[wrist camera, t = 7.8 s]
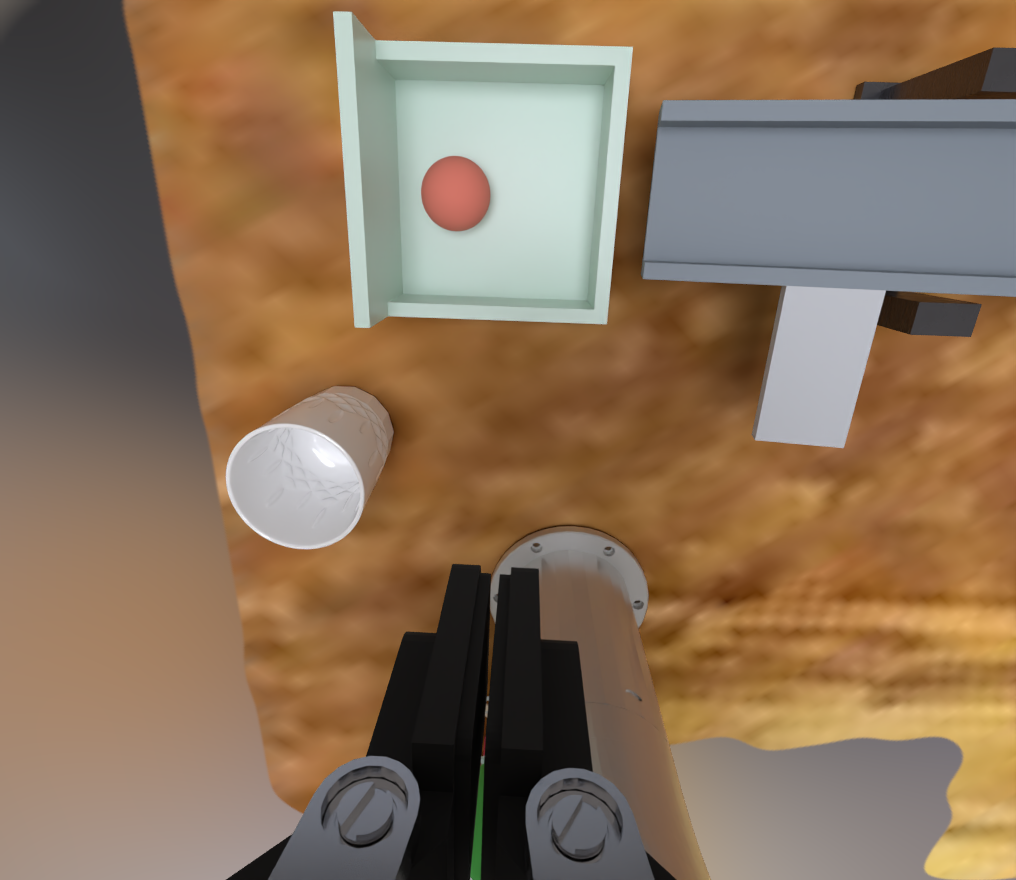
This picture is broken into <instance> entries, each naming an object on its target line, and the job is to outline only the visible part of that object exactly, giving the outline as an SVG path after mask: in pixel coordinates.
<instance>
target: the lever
mask: <svg viewBox="0 0 1016 880" xmlns="http://www.w3.org/2000/svg"><path fill="white" fill-rule="evenodd" d="M641 276H642V278H643V279H652V280H674V281H695V282H716V283H737V284H758V285H779V286H782V288H781V293H780V298H779V303H778V308H777V312H776V317H775V322H774V327H773V332H772V337H771V342H770V347H769V352H768V357H767V362H766V367H765V372H764V377H763V382H762V387H761V392H760V397H759V402H758V407H757V412H756V417H755V422H754V426H753V431H752V436H753V438H754V439H755V440H760V441H771V442H782V443H793V444H804V445H816V446H827V447H838V448H844V445H845V442H846V438H847V434H848V430H849V427H850V423H851V419H852V415H853V412H854V408H855V404H856V400H857V397H858V393H859V389H860V386H861V382H862V378H863V374H864V371H865V367H866V363H867V359H868V356H869V352H870V348H871V344H872V341H873V337H874V333H875V330H876V326H877V322H878V318H879V315H880V311H881V307H882V303H883V300H884V296H885V292H886V291H906V292H927V293H949V294H970V295H991V296H1012V297H1016V99H957V100H663V103H662V106H661V109H660V111H659V119H658V128H657V137H656V146H655V154H654V163H653V172H652V181H651V190H650V199H649V208H648V217H647V226H646V234H645V243H644V252H643V261H642V270H641Z"/></svg>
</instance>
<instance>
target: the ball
mask: <svg viewBox="0 0 1016 880" xmlns="http://www.w3.org/2000/svg"><path fill="white" fill-rule="evenodd" d="M421 198H422V203H423V206H424V209H425V211H426V213H427V214H428V216H429V217H430V218H431V220H432V221H433V222H434V223H436V224H437V225H438V226H440V227H442V228H444V229H446V230H450V231H464V230H468V229H470V228H472V227H474V226H475V225H477V224H478V223H479V222H480V221H481V220H482V219H483V217H484V216H485V214H486V212H487V210H488V208H489V204H490V186H489V182H488V179H487V177H486V175H485V174H484V172H483V170H482V169H481V168H480V167H479V166H478V165H477V164H476V163H474V162H473V161H471V160H470V159H467V158H465V157H461V156H448V157H444V158H442V159H440V160H438V161H436V162H435V163H434V164H433V165H432V166H431V167H430V168H429V169H428V171H427V172H426V174H425V176H424V178H423V181H422V186H421Z"/></svg>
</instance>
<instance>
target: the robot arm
mask: <svg viewBox="0 0 1016 880" xmlns="http://www.w3.org/2000/svg"><path fill="white" fill-rule="evenodd" d="M534 543H538V544H534ZM609 546H610V547H609ZM648 597H649V594H648V587H647V581H646V578H645V575H644V572H643V570H642V568H641V566H640V564H639V562H638V560H637V558H636V557H635V556H634V555H633V554H632V553H631V551H630V550H629V549H628V548H627V547H626V546H624V545H623V544H622V543H621V542H619V541H618V540H617V539H615V538H613V537H611V536H609V535H607V534H605V533H603V532H600V531H597V530H593V529H590V528H584V527H577V526H562V527H554V528H549V529H544V530H541V531H538V532H536V533H533V534H531V535H528V536H526V537H525V538H523V539H522V540H520V541H518V542H517V543H515V544H514V545H513V546H512V547H511V548H510V549H509V550H508V551H507V552H505V554H504V555H503V557H502V558H501V559H500V561H499V562H498V563H497V566H496V568H495V570H494V572H493V575H492V579H491V574H489V573H481V566H480V565H463V564H453V565H452V568H451V572H450V576H449V581H448V585H447V590H446V594H445V598H444V603H443V607H442V611H441V616H440V620H439V625H438V629H437V633H422V632H406V633H405V634H404V636H403V639H402V642H401V645H400V648H399V651H398V655H397V658H396V661H395V664H394V668H393V671H392V674H391V677H390V681H389V684H388V687H387V690H386V694H385V697H384V700H383V703H382V707H381V710H380V713H379V716H378V720H377V723H376V726H375V729H374V733H373V736H372V739H371V742H370V746H369V749H368V752H367V755H366V757H363V758H359V759H354V760H352V761H350V762H348V763H346V764H344V765H342V766H340V767H338V768H337V769H336V770H335V771H334V772H332V773H331V774H330V775H329V776H328V777H327V778H325V780H324V781H323V782H322V784H321V785H320V786H319V788H318V789H317V791H316V792H315V793H314V795H313V797H312V799H311V801H310V803H309V805H308V806H307V808H306V810H305V812H304V814H303V816H302V818H301V819H300V821H299V823H298V825H297V827H296V829H295V831H294V832H293V834H292V835H290V836H289V837H287V838H286V839H284V840H283V841H282V842H280V843H279V844H277V845H276V846H274V847H273V848H271V849H270V850H269V851H267V852H266V853H264V854H263V855H261V856H260V857H258V858H257V859H255V860H254V861H253V862H251V863H250V864H248V865H247V866H245V867H244V868H242V869H241V870H239V871H238V872H237V873H235V874H234V875H232V876H231V877H229V878H228V879H226V880H470V874H471V863H472V852H473V841H474V831H475V820H476V809H477V798H478V787H479V776H480V765H481V754H482V743H483V732H484V722H485V711H486V700H487V684H488V655H489V625H490V610H491V614H492V617H493V619H494V622H495V634H494V645H493V657H492V668H491V680H490V691H489V703H488V714H487V726H486V739H485V757H484V786H483V818H482V849H481V880H711V879H710V876H709V873H708V871H707V868H706V865H705V863H704V860H703V858H702V855H701V852H700V849H699V846H698V843H697V840H696V837H695V833H694V830H693V828H692V824H691V821H690V817H689V814H688V811H687V807H686V804H685V800H684V797H683V793H682V790H681V786H680V783H679V779H678V775H677V772H676V768H675V764H674V760H673V757H672V753H671V749H670V745H669V742H668V738H667V734H666V730H665V727H664V723H663V719H662V715H661V712H660V708H659V704H658V701H657V697H656V693H655V689H654V686H653V682H652V678H651V674H650V671H649V667H648V663H647V659H646V656H645V652H644V648H643V644H642V641H641V637H640V633H639V627H640V625H641V624H642V622H643V620H644V617H645V614H646V611H647V608H648Z"/></svg>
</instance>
